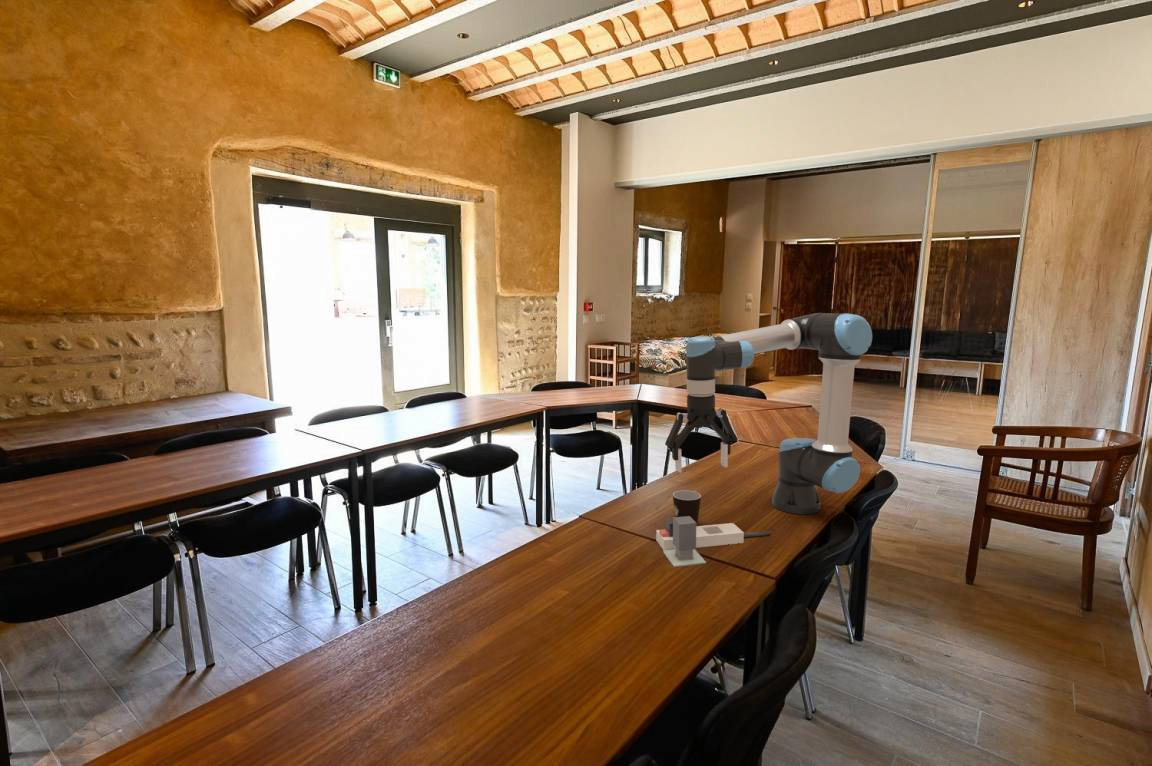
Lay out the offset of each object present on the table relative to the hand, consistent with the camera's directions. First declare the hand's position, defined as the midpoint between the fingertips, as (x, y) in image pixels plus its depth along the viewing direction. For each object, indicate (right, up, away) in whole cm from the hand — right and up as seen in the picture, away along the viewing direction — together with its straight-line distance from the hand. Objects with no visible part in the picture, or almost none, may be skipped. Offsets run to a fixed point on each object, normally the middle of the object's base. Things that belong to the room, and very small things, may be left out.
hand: (701, 468), depth 158 cm
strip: (+6, -22, +8) cm, 24 cm away
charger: (-5, -24, -3) cm, 25 cm away
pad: (-5, -24, -3) cm, 25 cm away
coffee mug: (0, -21, +20) cm, 29 cm away
